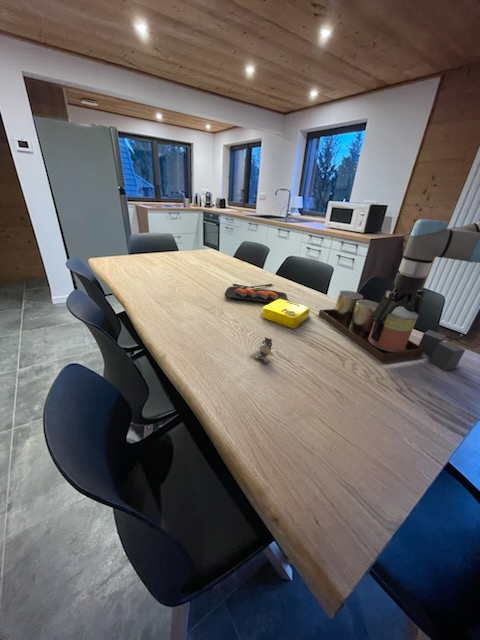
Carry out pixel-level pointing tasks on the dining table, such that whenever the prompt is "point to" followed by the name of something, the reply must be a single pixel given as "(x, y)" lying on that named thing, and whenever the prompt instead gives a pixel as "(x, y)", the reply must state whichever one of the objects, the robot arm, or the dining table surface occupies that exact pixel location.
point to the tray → (364, 342)
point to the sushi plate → (254, 294)
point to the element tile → (286, 313)
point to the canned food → (396, 330)
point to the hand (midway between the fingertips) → (388, 337)
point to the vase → (265, 349)
